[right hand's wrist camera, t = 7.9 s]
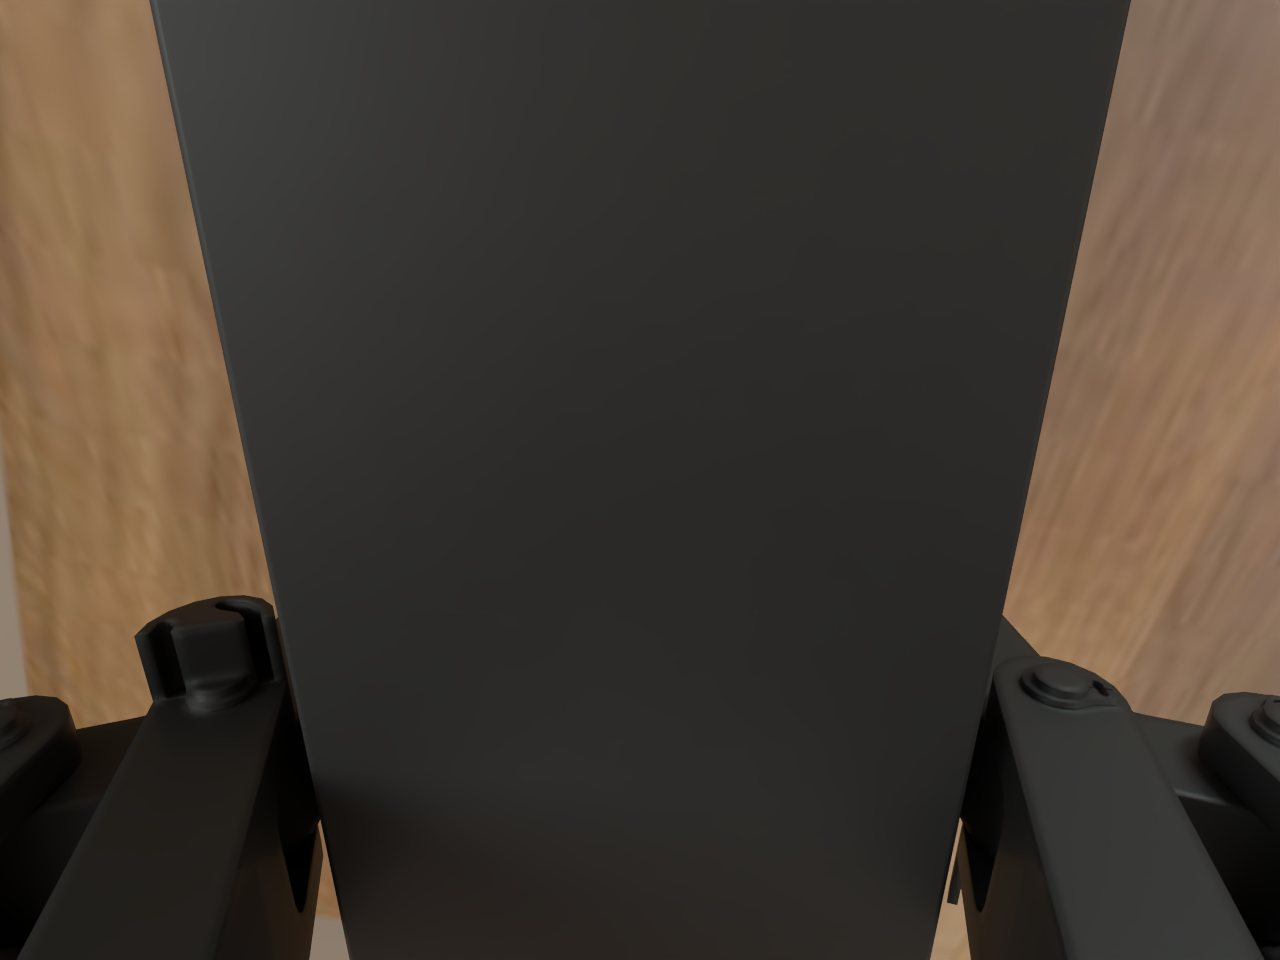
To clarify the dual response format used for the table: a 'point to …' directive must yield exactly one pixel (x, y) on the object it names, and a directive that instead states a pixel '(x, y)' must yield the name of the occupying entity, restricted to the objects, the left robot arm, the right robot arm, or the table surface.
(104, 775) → the right robot arm
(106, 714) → the table surface
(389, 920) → the bar
